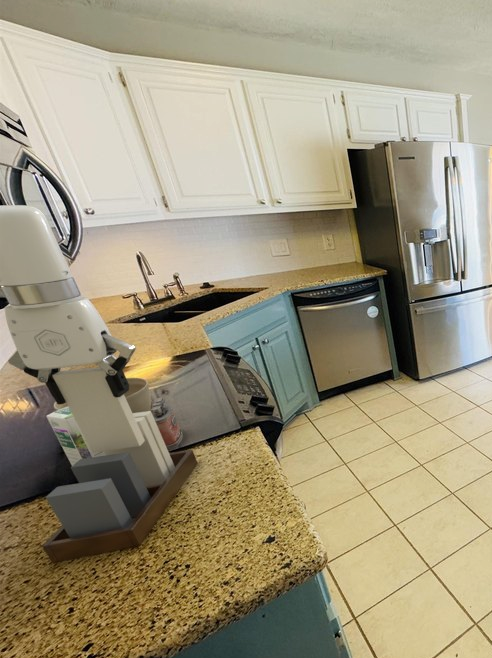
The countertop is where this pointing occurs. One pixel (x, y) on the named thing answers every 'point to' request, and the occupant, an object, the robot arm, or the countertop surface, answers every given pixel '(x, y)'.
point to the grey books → (100, 495)
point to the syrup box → (70, 436)
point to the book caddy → (135, 534)
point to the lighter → (167, 423)
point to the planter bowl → (131, 396)
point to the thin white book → (98, 410)
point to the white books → (149, 452)
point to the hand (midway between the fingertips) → (94, 396)
